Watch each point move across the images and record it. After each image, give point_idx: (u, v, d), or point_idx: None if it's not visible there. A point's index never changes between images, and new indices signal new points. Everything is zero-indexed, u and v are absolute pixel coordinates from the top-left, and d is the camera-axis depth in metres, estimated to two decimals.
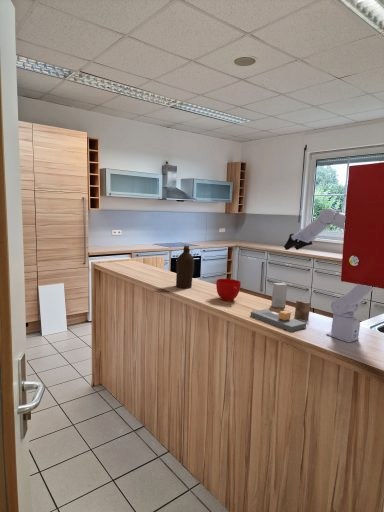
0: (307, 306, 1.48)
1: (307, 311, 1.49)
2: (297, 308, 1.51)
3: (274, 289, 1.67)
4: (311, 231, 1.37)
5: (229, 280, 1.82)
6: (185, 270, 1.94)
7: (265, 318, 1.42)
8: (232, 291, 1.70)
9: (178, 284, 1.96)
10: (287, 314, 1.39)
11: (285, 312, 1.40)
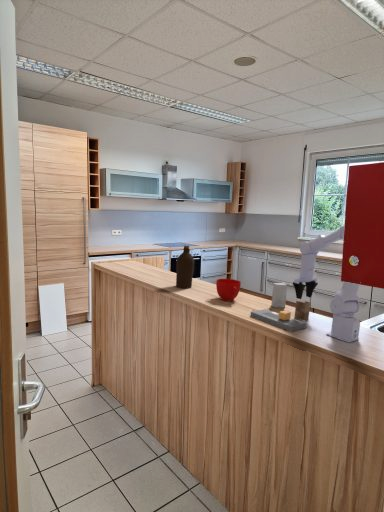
0: (307, 306, 1.48)
1: (307, 311, 1.49)
2: (297, 308, 1.51)
3: (274, 289, 1.67)
4: (304, 268, 1.46)
5: (229, 280, 1.82)
6: (185, 270, 1.94)
7: (265, 318, 1.42)
8: (232, 291, 1.70)
9: (178, 284, 1.96)
10: (287, 314, 1.39)
11: (285, 312, 1.40)
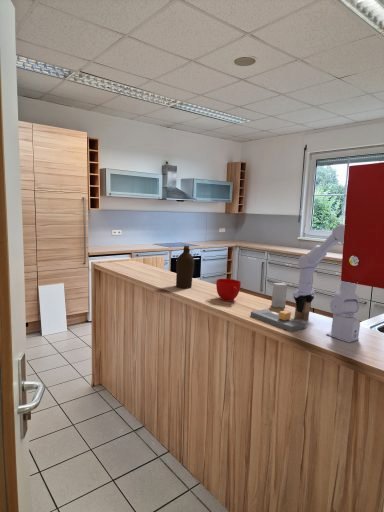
0: (307, 306, 1.48)
1: (307, 311, 1.49)
2: None
3: (274, 289, 1.67)
4: (303, 282, 1.47)
5: (229, 280, 1.82)
6: (185, 270, 1.94)
7: (265, 318, 1.42)
8: (232, 291, 1.70)
9: (178, 284, 1.96)
10: (287, 314, 1.39)
11: (285, 312, 1.40)
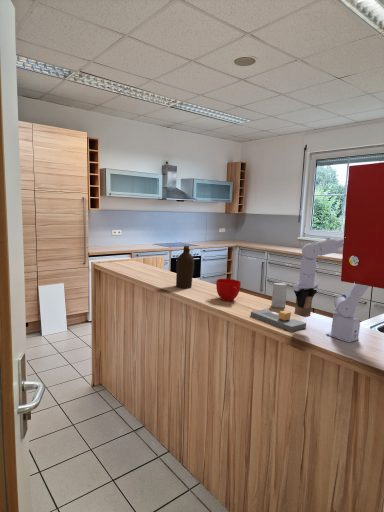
0: (309, 301, 1.31)
1: (309, 306, 1.31)
2: None
3: (274, 289, 1.67)
4: (311, 274, 1.29)
5: (229, 280, 1.82)
6: (185, 270, 1.94)
7: (265, 318, 1.42)
8: (232, 291, 1.70)
9: (178, 284, 1.96)
10: (287, 314, 1.39)
11: (285, 312, 1.40)
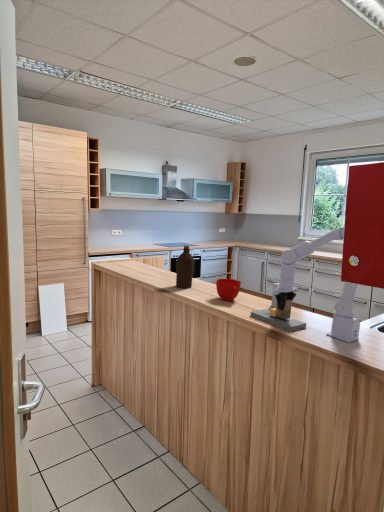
0: (288, 304, 1.38)
1: (288, 309, 1.39)
2: None
3: None
4: (288, 278, 1.36)
5: (229, 280, 1.82)
6: (185, 270, 1.94)
7: (265, 318, 1.42)
8: (232, 291, 1.70)
9: (178, 284, 1.96)
10: None
11: None
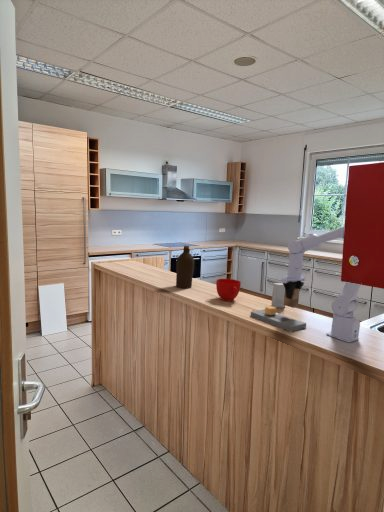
0: (296, 293, 1.43)
1: (296, 298, 1.43)
2: None
3: (274, 289, 1.67)
4: (294, 267, 1.41)
5: (229, 280, 1.82)
6: (185, 270, 1.94)
7: (265, 318, 1.42)
8: (232, 291, 1.70)
9: (178, 284, 1.96)
10: (273, 309, 1.45)
11: (271, 307, 1.46)
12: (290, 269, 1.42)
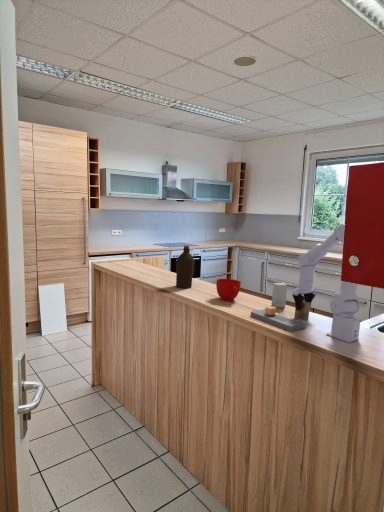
0: (307, 306, 1.48)
1: (307, 311, 1.49)
2: None
3: (274, 289, 1.67)
4: (303, 279, 1.47)
5: (229, 280, 1.82)
6: (185, 270, 1.94)
7: (265, 318, 1.42)
8: (232, 291, 1.70)
9: (178, 284, 1.96)
10: (273, 309, 1.45)
11: (271, 307, 1.46)
12: (301, 281, 1.48)
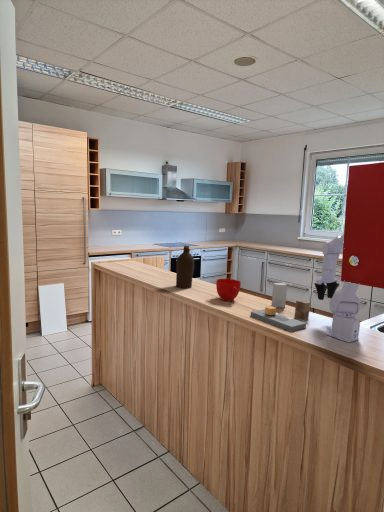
0: (307, 306, 1.48)
1: (307, 311, 1.49)
2: (297, 308, 1.51)
3: (274, 289, 1.67)
4: (324, 268, 1.45)
5: (229, 280, 1.82)
6: (185, 270, 1.94)
7: (265, 318, 1.42)
8: (232, 291, 1.70)
9: (178, 284, 1.96)
10: (273, 309, 1.45)
11: (271, 307, 1.46)
12: (324, 270, 1.45)
